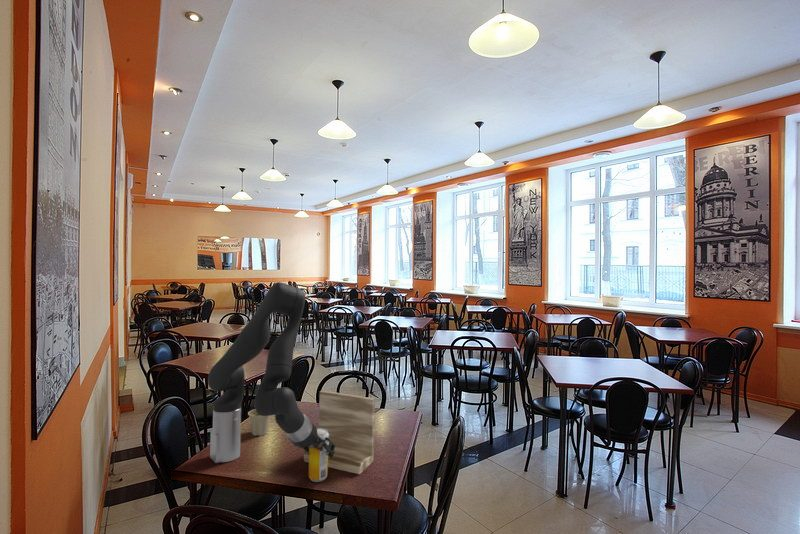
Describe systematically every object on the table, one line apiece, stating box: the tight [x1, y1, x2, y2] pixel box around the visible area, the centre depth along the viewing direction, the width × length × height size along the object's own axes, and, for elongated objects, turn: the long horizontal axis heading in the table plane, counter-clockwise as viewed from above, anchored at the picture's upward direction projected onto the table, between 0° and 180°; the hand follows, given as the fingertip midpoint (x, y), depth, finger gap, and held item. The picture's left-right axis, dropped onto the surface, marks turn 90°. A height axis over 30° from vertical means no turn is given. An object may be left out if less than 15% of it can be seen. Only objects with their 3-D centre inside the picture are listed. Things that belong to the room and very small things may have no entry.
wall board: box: [303, 390, 376, 475], centre depth 144 cm, size 11×22×22 cm, turn 68°
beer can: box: [308, 427, 329, 483], centre depth 132 cm, size 6×6×15 cm
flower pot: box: [247, 408, 272, 437], centre depth 167 cm, size 9×9×9 cm
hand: (320, 452), depth 133 cm, fingers open, 8 cm apart
